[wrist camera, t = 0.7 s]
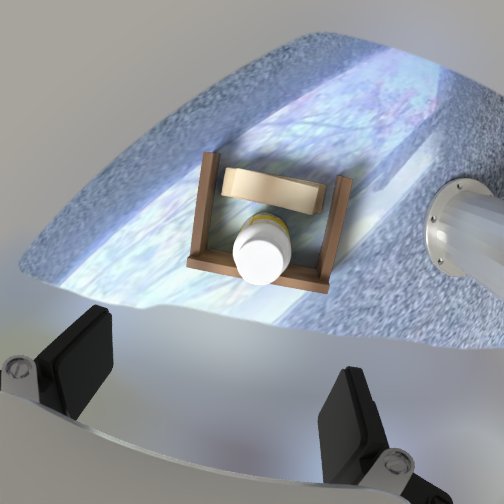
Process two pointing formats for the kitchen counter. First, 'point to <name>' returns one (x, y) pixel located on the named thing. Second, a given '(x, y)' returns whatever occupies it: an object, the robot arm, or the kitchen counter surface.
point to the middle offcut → (227, 192)
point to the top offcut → (274, 191)
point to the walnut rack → (224, 260)
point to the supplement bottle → (262, 248)
